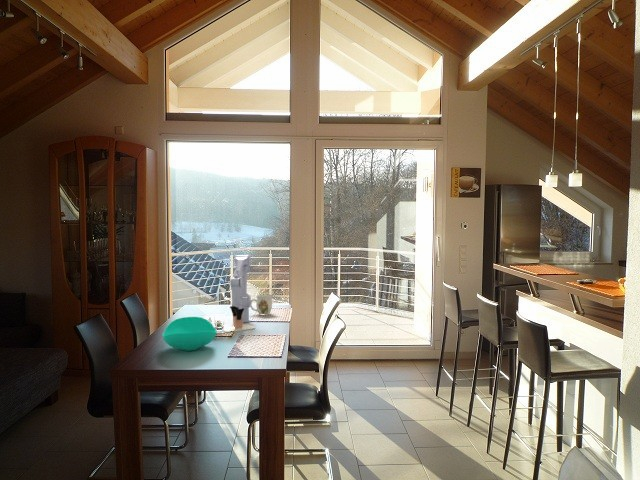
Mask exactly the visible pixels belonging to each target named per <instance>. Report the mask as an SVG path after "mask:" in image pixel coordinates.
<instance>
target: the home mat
mask: <svg viewBox="0 0 640 480" xmlns="http://www.w3.org/2000/svg"><path fill="white" fill-rule="evenodd" d="M242 325H243V328H238V329H235V330H234V332H233V333H236V332H243V331H250V330H255V329H256V327H254V326H252V325H250V324H248V323H242Z"/></svg>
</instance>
